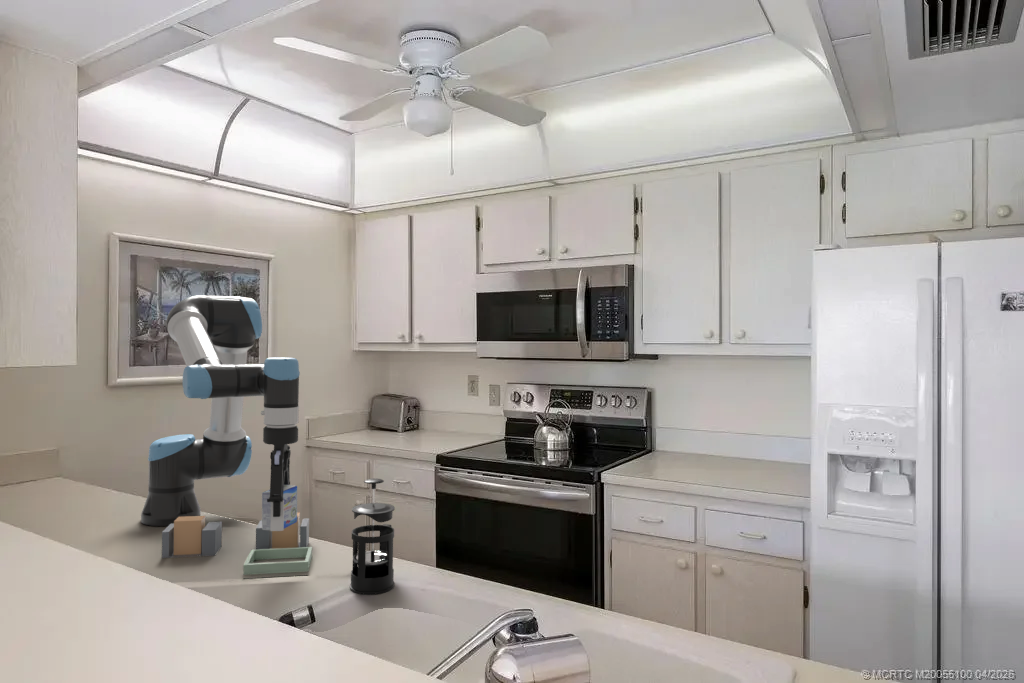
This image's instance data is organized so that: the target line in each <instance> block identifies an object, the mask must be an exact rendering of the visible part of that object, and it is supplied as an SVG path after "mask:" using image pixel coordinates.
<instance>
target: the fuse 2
mask: <svg viewBox="0 0 1024 683" xmlns="http://www.w3.org/2000/svg"><path fill="white" fill-rule="evenodd" d="M300 515H301V512H300V511H299V512H298V511H297V522H296V523H294V524H292V525H290V526H288V527H287V528H285V529H284V530H283V531H272V549H275V548H296V547H299V542H300V526H301V523H300V522H301V521H300V519H301V517H300Z"/></svg>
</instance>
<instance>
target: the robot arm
mask: <svg viewBox="0 0 1024 683" xmlns="http://www.w3.org/2000/svg"><path fill="white" fill-rule="evenodd" d="M262 320H263V319H262V314H261V310H260V307H259V304H258V303H257V301H256V300H255V299H253V298H252V297H244V296H239V295H238V296H233V295H232V296H231V295H229V296H228V295H226V296H225V295H224V296H223V295H192V296H189V297H186V298H185V299H181V300H180V301H179V302H178V303H176V304H175V305H174V306H173V307H172V308H171V310H169V311H168V315H167V316H166V320H165V321H166V323H165V324H166V330H167V332H168V336H169V337H170V339H172V340H173V341H174V342H176V344H177V346H178V348H179V352H180V354H181V356H182V358H183V359H182V360H183V361H184V364H185V366H186V367H185V368H183V372H182V391H183V394H184V396H185V397H187V398H188V399H201V400H206V399H211V400H210V401H211V402H210V404H211V405H210V417H209V427H207V428H206V429H204V431H203V437H202V438H196V437H195V435H194V434H191V433H189V434H188V433H187V434H186V433H185V434H176V435H169V436H166V437H161V438H159V439H156V440H154V441H153V442H152V443H151V444H150V445H149V448H148V457H147V461H148V486H147V487H148V493H147V496H146V498H145V499H146V500H145V502H144V505H143V507H142V510H141V513H140V523H141V524H142V525H146V526H151V527H168V526H169V525H170V524H173V523H174V521H175V520H176V519H177V518H178V517H185V516H201V512H202V511H201V506H200V503H199V500H198V497H197V495H196V492H195V481H199V480H207V479H216V478H217V479H218V478H232V477H235V476H241V475H243V474H244V473H245V472H246V471H247V470H248V469H249V467H250V463H251V460H252V453H253V452H252V447H253V443H252V440H251V437H250V436H248V435H247V431H246V430H245V429H244V428H243V427H242V422H243V410H244V408H243V407H244V398H245V397H246V398H247V397H263V410H261V412H260V415H261V416H264V417H263V424H264V425H265V426H264V427H263V430H262V431H263V432H262V434H263V435H262V436H263V437H262V439H263V440H262V441H263V443H264V444H266V445H272V446H273V449H272V450H271V452H270V455H269V456H270V481H269V484H270V486H269V490H270V497H269V499H267V502H271V523H270V531H283V530H284V500H283V499H284V498H283V491H284V485H291V479H290V478H291V475H290V474H291V473H290V464H291V459H290V458H291V446H290V445H292V444H295V443H297V442H298V441H299V427H298V425H297V424H298V423H299V422H300V421H299V411H300V410H299V409H300V406H299V394H300V392H299V388H300V382H299V380H300V375H301V373H300V366H299V365H300V364H299V360H298V359H297V358H295V357H288V356H287V357H284V356H282V357H277V356H276V357H267V358H266V359H265V360H264V362H263V363H258V364H247V361H248V360H247V359H248V351H249V350H250V349H251V348H252V347H254V343H255V340H257V339H259V338H261V336H262V334H263V321H262ZM277 494H278V495H277Z"/></svg>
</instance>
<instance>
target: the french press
mask: <svg viewBox="0 0 1024 683" xmlns="http://www.w3.org/2000/svg"><path fill="white" fill-rule="evenodd" d="M363 482H364V484H369V485H370V484H371V490H372V502H368V503H361V504H357V505H355V506H353V507H352V508H351V512H352V513H353V520H356V518H358V517H359V516H362V515H363V516H367V517H369V518H371V519H372V524H368V525H367V524H366V525H361V526H358V527H355V528H353V529H352V530H351V540H352V570H351V571H350V583H349V589H350V592H351V591H352V592H353V593H354V594H359V595H365V596H370V595H380V594H383V593H387V592H389V591H391V590H393V589H394V587H395V581H394V576H395V575H394V572H395V570H394V564H393V563H394V538H395V529H394V528H393V527H392V525H391V524H387V523H385V522H388V521H391V520H392V519H393V512H394V511H395V509H396V508H395V506H394V505H392V504H389V503H383V502H375V490H376V489H377V484H382V483H384V482H385V480H383V479H382V478H368V479H367V478H366V479H364V481H363ZM375 522H377V523H383V524H375ZM365 532H372V534H371V536H364V535H363V536H362V535H359V534H361V533H365ZM375 532H379V535H378V536H375ZM367 544H371V550H366V547H367ZM375 544H379V550H378V549H376V550H375V549H374V547H375Z"/></svg>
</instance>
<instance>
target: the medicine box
mask: <svg viewBox="0 0 1024 683" xmlns="http://www.w3.org/2000/svg"><path fill="white" fill-rule="evenodd" d="M277 495H278V494H277ZM269 497H270V489H268V490H265V491H263V492H261V520H262V530H269V531H270V523H271V502H267V499H269ZM283 498H284V499H283V500H284V529H285V528H287V527H288V526H290V525H292V524H294V523H296V522H297V512H298V486H297V485H293V484H290V485H284V491H283Z"/></svg>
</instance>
